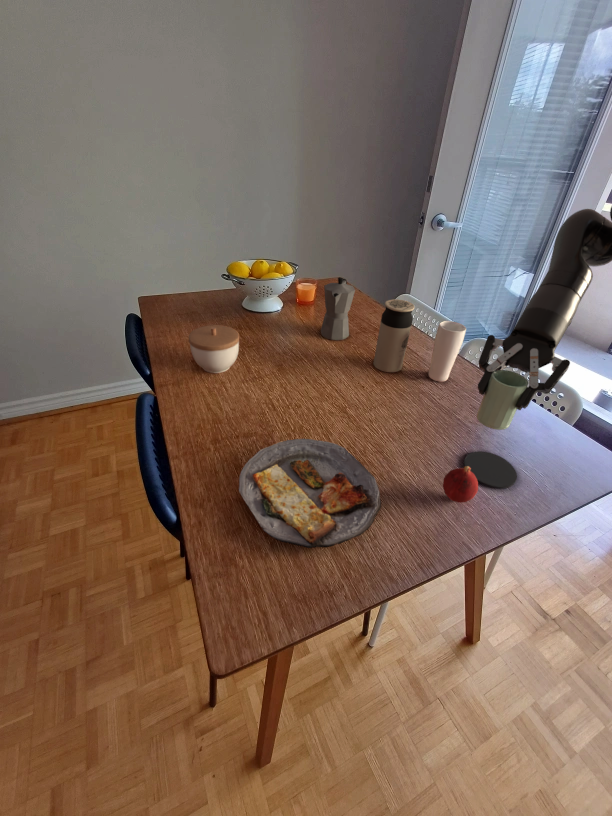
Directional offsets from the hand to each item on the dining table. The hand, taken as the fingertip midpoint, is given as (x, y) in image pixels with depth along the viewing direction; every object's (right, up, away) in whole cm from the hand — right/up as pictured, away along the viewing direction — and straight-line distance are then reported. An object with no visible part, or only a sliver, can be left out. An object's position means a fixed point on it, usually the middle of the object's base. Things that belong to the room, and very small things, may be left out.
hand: (499, 400), depth 69 cm
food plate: (-33, -17, +3) cm, 37 cm away
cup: (+1, -4, +4) cm, 6 cm away
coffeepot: (-24, +23, +58) cm, 67 cm away
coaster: (+3, -14, +10) cm, 17 cm away
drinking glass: (+2, +7, +39) cm, 40 cm away
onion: (-7, -18, +4) cm, 20 cm away
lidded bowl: (-58, +10, +37) cm, 69 cm away
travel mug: (-11, +10, +43) cm, 45 cm away
